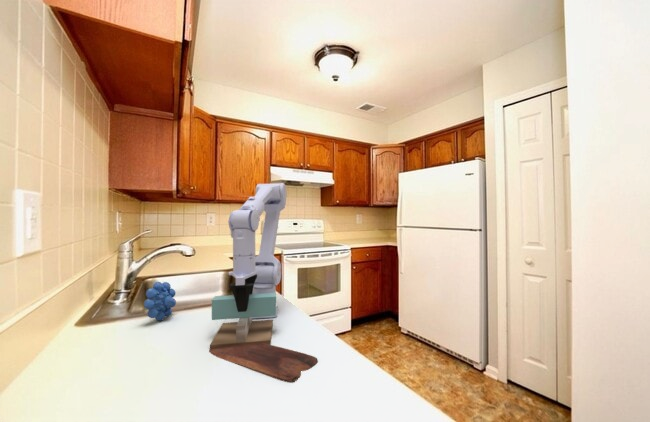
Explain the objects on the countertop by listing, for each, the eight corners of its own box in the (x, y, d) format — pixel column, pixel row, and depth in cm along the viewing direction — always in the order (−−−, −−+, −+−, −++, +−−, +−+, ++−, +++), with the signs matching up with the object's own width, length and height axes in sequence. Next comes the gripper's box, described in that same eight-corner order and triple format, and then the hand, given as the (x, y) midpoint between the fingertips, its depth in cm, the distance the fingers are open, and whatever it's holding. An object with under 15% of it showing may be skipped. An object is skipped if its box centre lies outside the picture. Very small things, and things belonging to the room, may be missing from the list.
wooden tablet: (200, 347, 62) (233, 327, 71) (201, 356, 63) (234, 335, 71) (292, 381, 49) (320, 351, 58) (293, 393, 49) (320, 361, 58)
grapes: (158, 329, 75) (158, 286, 76) (137, 327, 77) (137, 285, 77) (186, 314, 87) (186, 277, 87) (168, 313, 88) (168, 276, 88)
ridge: (222, 326, 77) (222, 308, 77) (272, 323, 79) (272, 305, 79) (209, 349, 63) (209, 327, 63) (270, 344, 65) (270, 323, 65)
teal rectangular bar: (276, 311, 74) (276, 292, 74) (275, 315, 71) (275, 296, 71) (215, 315, 72) (215, 296, 72) (211, 320, 68) (211, 300, 68)
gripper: (233, 251, 78) (234, 299, 78) (222, 259, 64) (222, 317, 63) (258, 251, 79) (259, 297, 79) (252, 258, 65) (253, 315, 64)
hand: (244, 306), depth 71 cm, fingers open, 7 cm apart
